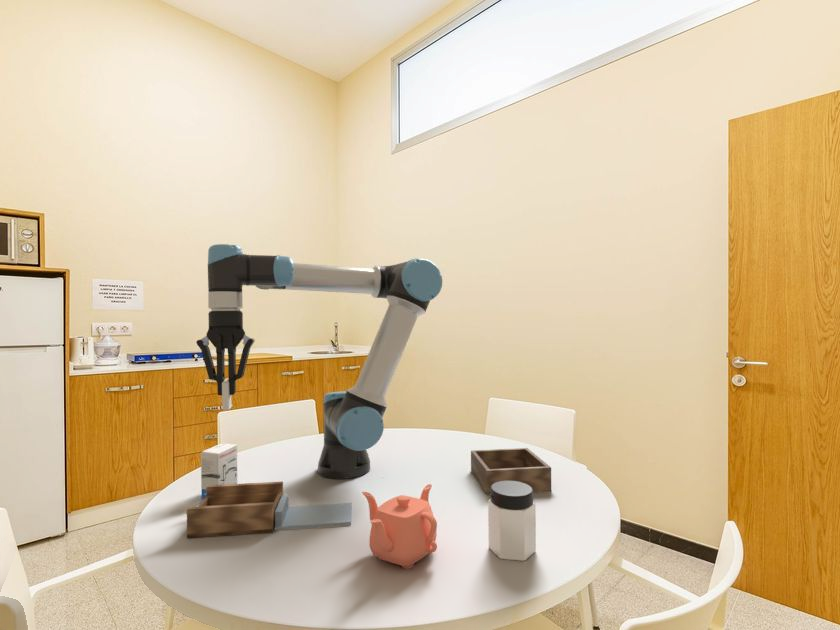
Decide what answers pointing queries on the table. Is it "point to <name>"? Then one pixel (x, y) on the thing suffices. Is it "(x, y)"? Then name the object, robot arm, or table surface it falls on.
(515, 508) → the jar
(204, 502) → the box
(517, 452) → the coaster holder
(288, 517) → the lid
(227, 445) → the ink box
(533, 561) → the table surface
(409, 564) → the teapot
